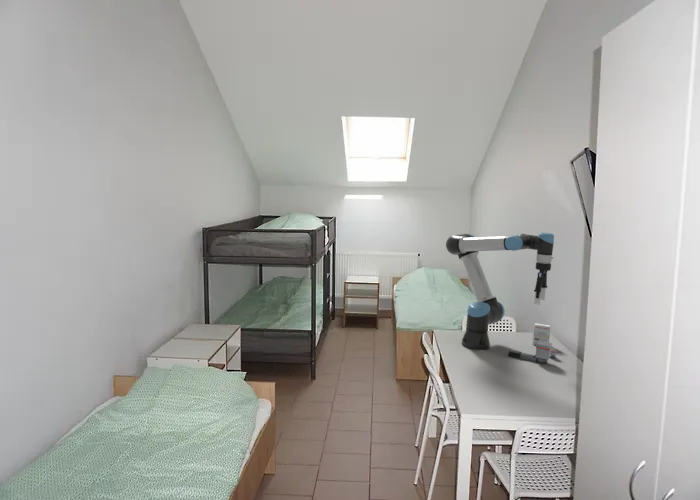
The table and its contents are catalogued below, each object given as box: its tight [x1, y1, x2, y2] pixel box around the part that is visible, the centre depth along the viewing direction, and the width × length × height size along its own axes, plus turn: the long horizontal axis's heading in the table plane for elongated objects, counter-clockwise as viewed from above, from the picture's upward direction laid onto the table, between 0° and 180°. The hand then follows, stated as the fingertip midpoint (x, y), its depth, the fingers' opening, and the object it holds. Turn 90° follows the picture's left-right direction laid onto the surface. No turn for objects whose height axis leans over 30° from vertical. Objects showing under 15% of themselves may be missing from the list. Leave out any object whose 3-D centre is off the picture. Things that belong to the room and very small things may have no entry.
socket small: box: [549, 347, 558, 359], centre depth 274 cm, size 4×4×4 cm
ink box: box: [532, 322, 551, 346], centre depth 295 cm, size 8×5×12 cm, turn 70°
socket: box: [534, 341, 553, 361], centre depth 265 cm, size 6×6×7 cm
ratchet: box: [508, 349, 549, 365], centre depth 269 cm, size 19×6×7 cm, turn 60°
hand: (539, 301), depth 274 cm, fingers open, 13 cm apart
